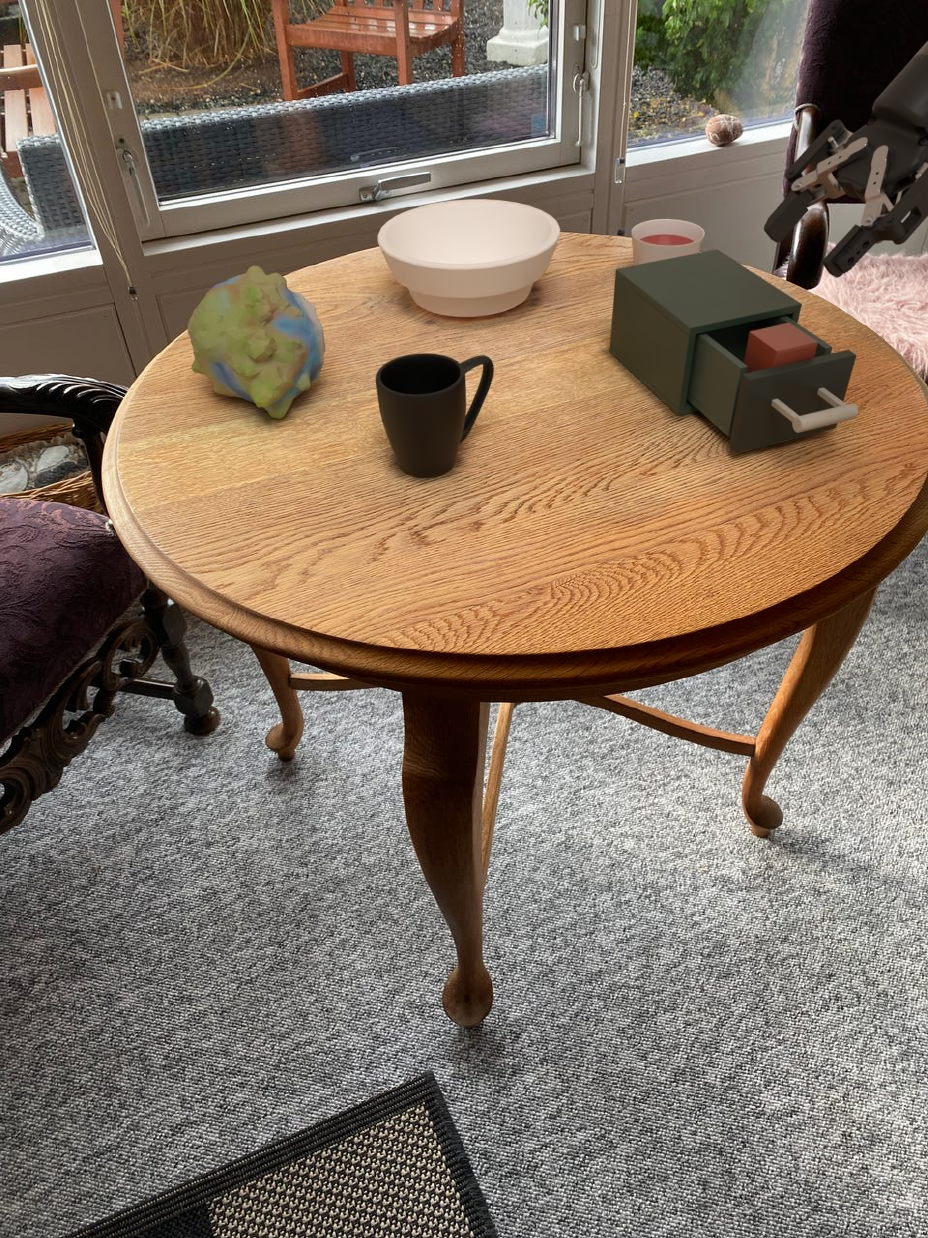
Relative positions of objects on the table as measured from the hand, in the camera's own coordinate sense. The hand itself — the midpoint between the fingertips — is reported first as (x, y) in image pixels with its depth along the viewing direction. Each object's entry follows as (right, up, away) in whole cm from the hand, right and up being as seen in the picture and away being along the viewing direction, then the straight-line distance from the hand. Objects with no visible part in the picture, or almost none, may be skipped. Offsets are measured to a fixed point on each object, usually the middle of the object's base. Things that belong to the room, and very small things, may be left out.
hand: (798, 252), depth 77 cm
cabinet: (-4, -4, +22) cm, 22 cm away
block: (+1, -11, +11) cm, 16 cm away
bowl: (-28, +10, +38) cm, 48 cm away
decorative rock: (-51, -8, +20) cm, 55 cm away
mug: (-31, -16, +11) cm, 37 cm away
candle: (-3, +12, +39) cm, 41 cm away
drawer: (+1, -11, +12) cm, 17 cm away
